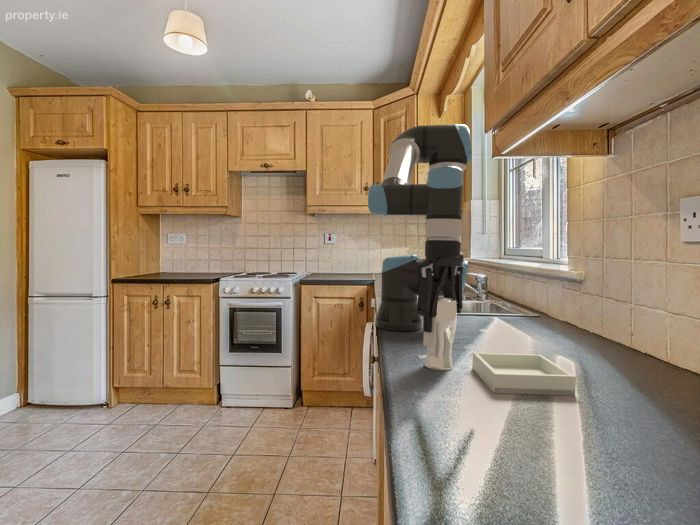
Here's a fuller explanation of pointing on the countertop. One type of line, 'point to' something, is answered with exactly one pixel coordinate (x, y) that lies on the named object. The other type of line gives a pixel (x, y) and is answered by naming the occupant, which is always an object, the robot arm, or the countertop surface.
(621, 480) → the countertop surface
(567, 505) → the countertop surface
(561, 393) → the tray
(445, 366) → the beer glass
